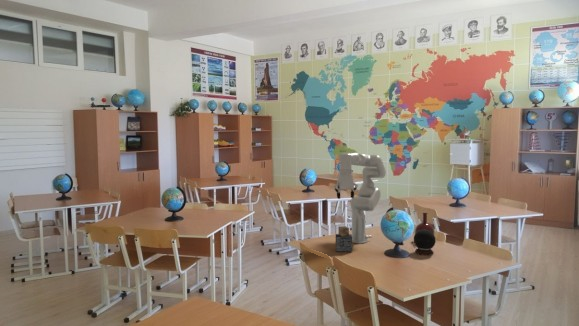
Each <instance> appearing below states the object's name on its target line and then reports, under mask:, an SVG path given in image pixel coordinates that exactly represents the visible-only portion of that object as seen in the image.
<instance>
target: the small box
mask: <svg viewBox="0 0 579 326" xmlns="http://www.w3.org/2000/svg"><path fill="white" fill-rule="evenodd" d="M335 253H353V243H352V233H349V236H340V235H339V233H338V234H337V233H336V234H335Z"/></svg>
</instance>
